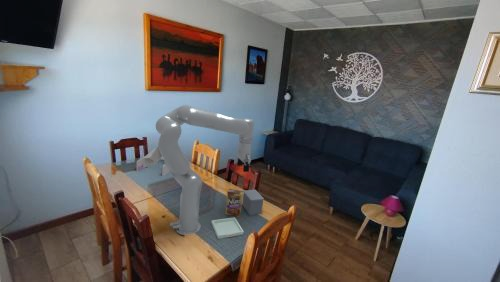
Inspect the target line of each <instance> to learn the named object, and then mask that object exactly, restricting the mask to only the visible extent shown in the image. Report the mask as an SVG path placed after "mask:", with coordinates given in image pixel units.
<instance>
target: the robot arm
mask: <svg viewBox="0 0 500 282" xmlns="http://www.w3.org/2000/svg"><path fill="white" fill-rule="evenodd" d="M183 124H186V125H189V126H194V127H200V128H205V129H209V130H215V131H219V132H225V133H228V134H234V135H239V136H238V145H237V151H236V157H237V161H236V165H237V166H238V167H242V166H243V172H244V173H247V172H249V171H250V165H251V162H252V159H251V156H252V155H251V154H252V143H253V137H254V136H253V134H254V125H255V122H254V119H252V118H246V117H244V118H237V117H229V116H227V115H224V114H221V113H218V112H215V111H211V110H207V109H202V108H198V107H195V106H190V105H188V104H185V105H184V104H183V105H181V106H178V107H176V108H174V109H173V110H171V111H170V112H168V113H165V114H164V115H163V116H161V117H159V118H158V120H157V121H156V122H155V130H156V132H157V133H159V135H160V136H159V139H158V143H157V146H158V148H159V151H160V153H161V155H162V158H163V163H164V164H165V166H166V167H167V169H168V170H169V171H170V172H169V173H170V175H171V176H172V177H173V178H174V179H175V181H176V182H177V184H179V185H180V187H181V188H182V189H181V193H180V197H179V218H178V219H177V220H176V221H174V222H170V223H169V228H171V227H172V229H173V230H174V229H175V230H176V232H177V233H178V234H180V235H181V236H185V235H193V234H195V233H197V232H199V231H200V230H201V227H202V226H201V223H200V222H199V213H200V197H201V190H202V186H203V179H202V178H201V176H200V174H198V173H197V172H196V171H194V169H192V168H191V164H190V160H189V159H188V158H187V157H186V155H185V154H184V152H183V150H182V149H181V147H180V146H179V139H180V137H181V135H182V130H183V129H182V125H183ZM243 163H244V164H243Z"/></svg>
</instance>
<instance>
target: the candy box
mask: <svg viewBox="0 0 500 282" xmlns="http://www.w3.org/2000/svg"><path fill="white" fill-rule="evenodd" d="M243 191H244V190H238V189H233V188H228V190H227V193H226V202H225V203H226V204H225V212H224V213H225V215H227V216H231V217H236V218H240V216H241V214H242V206H243V205H242V203H243V194H244V192H243Z"/></svg>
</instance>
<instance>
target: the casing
mask: <svg viewBox="0 0 500 282" xmlns="http://www.w3.org/2000/svg"><path fill="white" fill-rule="evenodd" d="M161 158H163V156H162V155H161V153H160V151H159V148H158V145H157V146H156V147H154V149H152V150H151V151H150V152H148V153H147V154H146V155H145V156H142V158H140V159H138V160H136V162H135V163H136V167H135V168H136V172H137V171H138V172H141V171H143V170H142V169H145V168H147V167H150V166H154V165H156V164H159V162H160V160H161ZM140 170H141V171H140ZM168 173H170V171H169V170H168V169H167V167H166V166H165V163H164V164H163V165H162V167H161V177H164V176H165V175H167V174H168Z"/></svg>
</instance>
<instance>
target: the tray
mask: <svg viewBox="0 0 500 282" xmlns="http://www.w3.org/2000/svg"><path fill="white" fill-rule="evenodd" d="M236 218H237V217H236V216H232V217H228V218H221V219H219V218H218V219H212V220H211V227H212V229H213V231H214V233H215V236H216V237H217V240H221V239H227V238H228V239H229V238H233V237H234V238H235V237H240V236H244V234H245V231H244V230H243V228H242V227H241V225H240V223H239V221H238V220H237V219H236Z"/></svg>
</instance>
